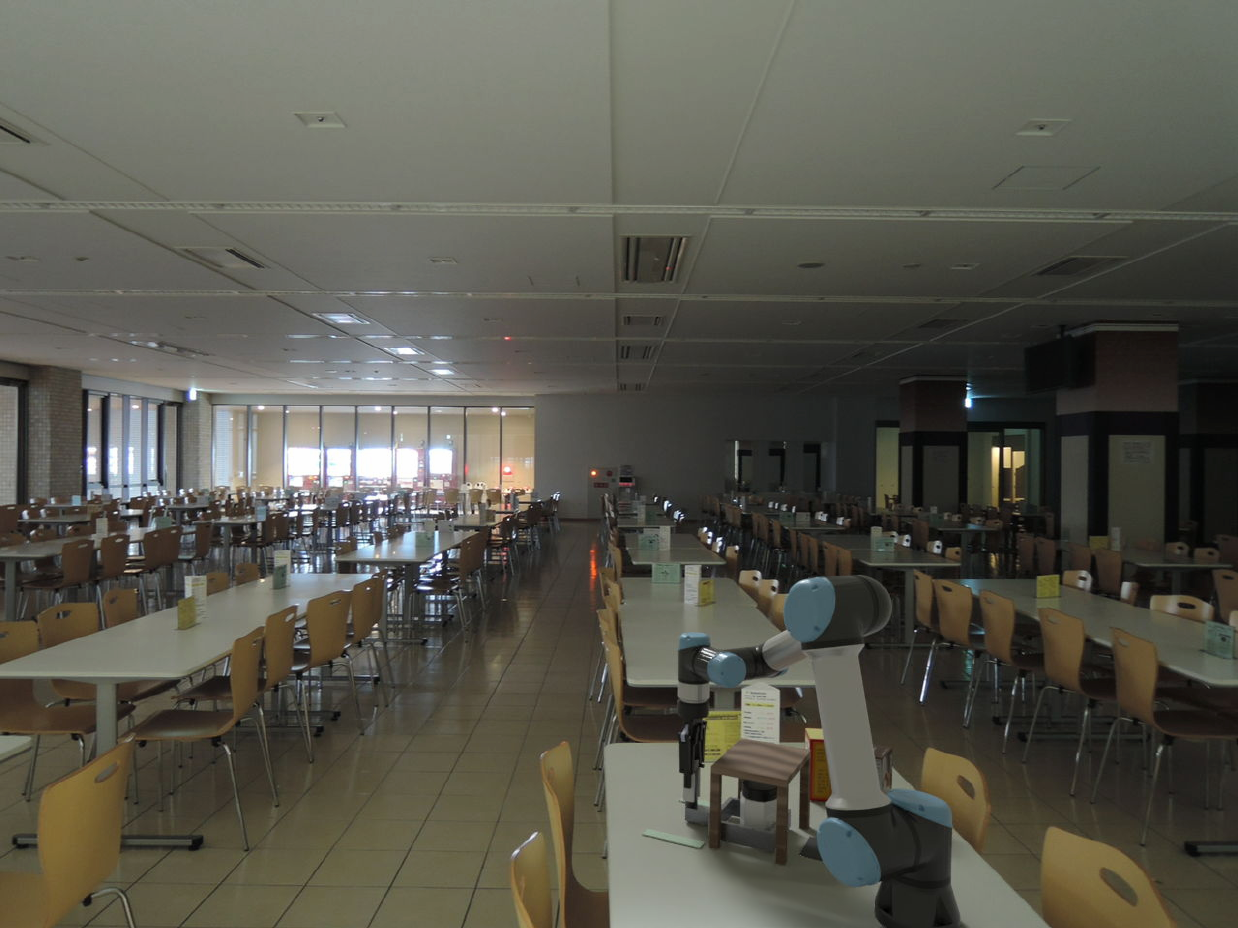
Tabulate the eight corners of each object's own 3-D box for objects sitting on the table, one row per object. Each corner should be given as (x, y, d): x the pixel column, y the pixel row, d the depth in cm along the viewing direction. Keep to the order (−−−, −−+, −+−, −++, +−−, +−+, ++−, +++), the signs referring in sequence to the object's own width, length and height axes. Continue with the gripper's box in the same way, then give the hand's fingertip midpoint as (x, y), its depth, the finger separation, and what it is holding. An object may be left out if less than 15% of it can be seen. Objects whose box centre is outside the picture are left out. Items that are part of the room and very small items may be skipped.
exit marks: (700, 848, 182) (700, 847, 182) (642, 835, 188) (642, 833, 188) (736, 808, 204) (736, 807, 204) (683, 797, 210) (683, 796, 210)
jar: (756, 847, 183) (757, 793, 183) (732, 834, 189) (733, 781, 190) (785, 838, 188) (786, 785, 188) (760, 825, 194) (761, 774, 195)
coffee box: (865, 806, 207) (867, 742, 207) (892, 812, 204) (893, 747, 204) (855, 819, 199) (857, 752, 199) (882, 825, 196) (884, 757, 196)
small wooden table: (784, 865, 175) (786, 780, 175) (708, 847, 182) (710, 765, 182) (809, 826, 194) (810, 749, 195) (740, 811, 202) (741, 738, 202)
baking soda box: (803, 786, 219) (805, 726, 220) (828, 787, 219) (830, 727, 219) (808, 800, 210) (810, 737, 210) (834, 802, 209) (836, 738, 209)
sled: (773, 852, 179) (774, 787, 180) (673, 829, 190) (674, 768, 190) (790, 826, 193) (791, 766, 193) (696, 806, 203) (697, 749, 203)
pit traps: (862, 870, 173) (862, 868, 173) (798, 855, 179) (798, 854, 179) (870, 850, 182) (870, 849, 182) (809, 837, 188) (809, 836, 188)
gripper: (690, 689, 205) (689, 783, 205) (665, 704, 191) (663, 806, 190) (719, 693, 202) (718, 789, 202) (695, 709, 187) (693, 813, 187)
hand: (691, 797), depth 196 cm, fingers closed on sled, 3 cm apart
